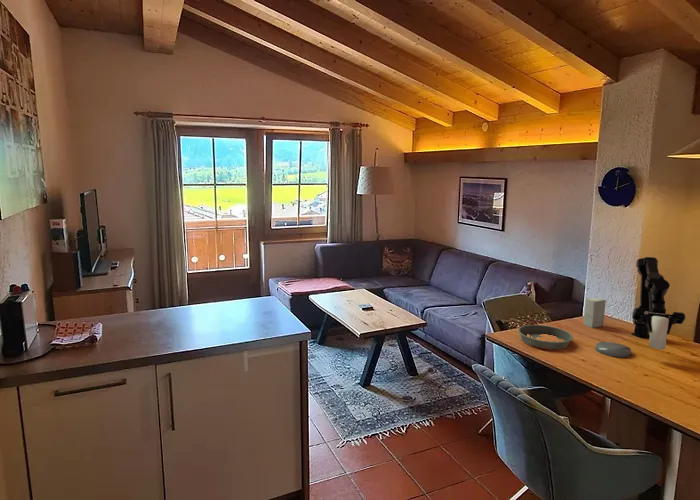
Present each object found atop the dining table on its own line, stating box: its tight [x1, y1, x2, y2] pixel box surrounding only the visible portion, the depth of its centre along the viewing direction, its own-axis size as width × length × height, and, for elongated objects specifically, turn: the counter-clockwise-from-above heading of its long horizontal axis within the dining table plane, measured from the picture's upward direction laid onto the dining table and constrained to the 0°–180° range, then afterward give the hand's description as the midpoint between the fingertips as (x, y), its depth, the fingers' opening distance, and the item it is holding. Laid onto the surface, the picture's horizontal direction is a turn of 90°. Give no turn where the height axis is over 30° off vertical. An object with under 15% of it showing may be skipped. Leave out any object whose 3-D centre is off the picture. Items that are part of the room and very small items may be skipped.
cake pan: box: [517, 324, 574, 350], centre depth 222 cm, size 25×25×4 cm
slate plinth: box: [595, 341, 632, 359], centre depth 210 cm, size 14×14×2 cm
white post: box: [648, 316, 669, 350], centre depth 198 cm, size 6×6×13 cm
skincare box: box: [583, 296, 607, 329], centre depth 245 cm, size 8×6×15 cm
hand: (659, 333), depth 197 cm, fingers closed on white post, 6 cm apart
